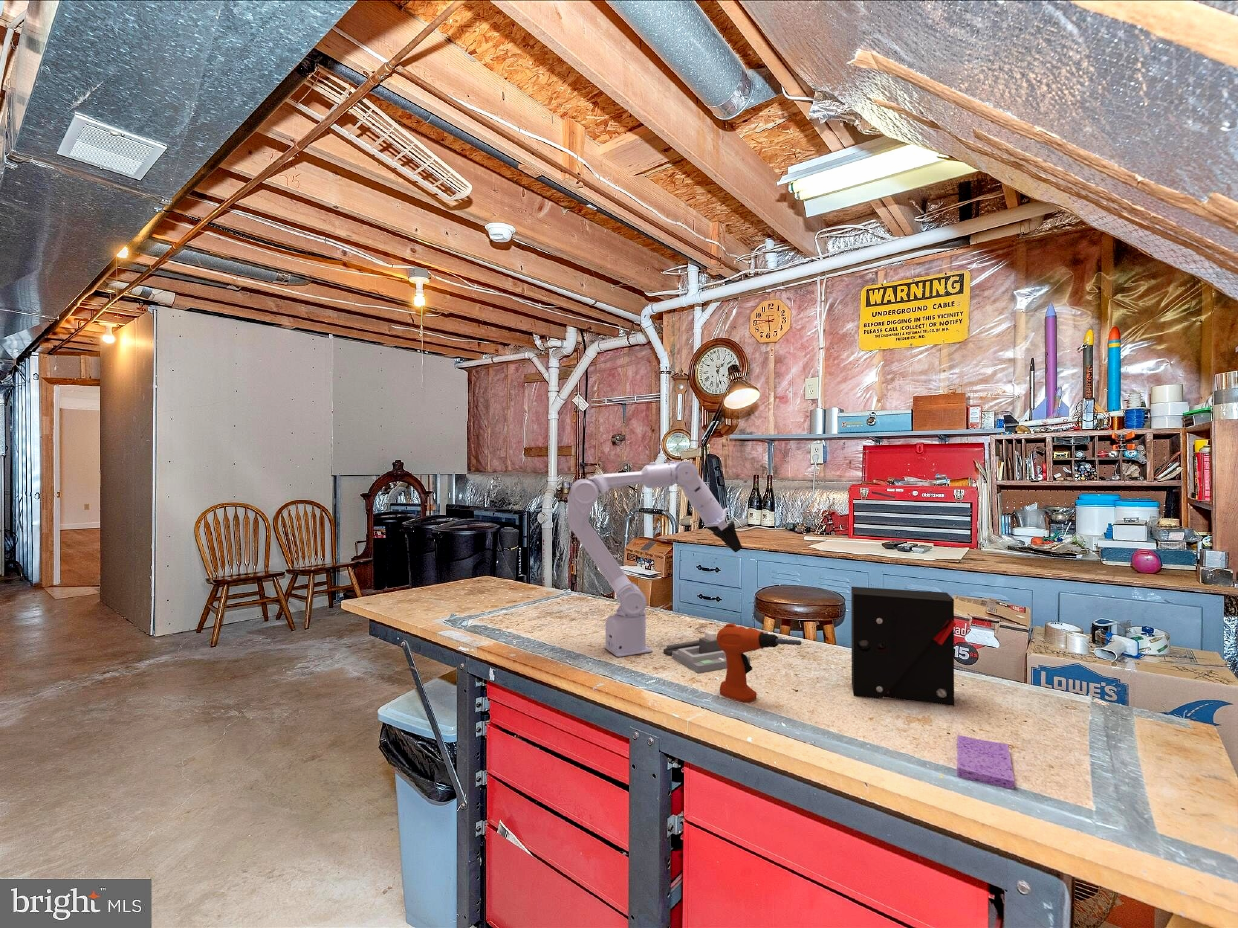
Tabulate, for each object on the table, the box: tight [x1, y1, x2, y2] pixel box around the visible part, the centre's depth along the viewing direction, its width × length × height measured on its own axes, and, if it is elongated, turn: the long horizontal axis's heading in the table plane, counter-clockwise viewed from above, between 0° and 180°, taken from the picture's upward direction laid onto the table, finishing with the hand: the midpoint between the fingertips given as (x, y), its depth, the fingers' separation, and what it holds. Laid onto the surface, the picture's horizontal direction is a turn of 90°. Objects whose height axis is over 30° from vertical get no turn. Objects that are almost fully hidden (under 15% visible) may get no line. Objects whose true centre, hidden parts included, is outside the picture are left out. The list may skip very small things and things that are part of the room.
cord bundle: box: [663, 639, 699, 656], centre depth 140 cm, size 14×3×2 cm, turn 116°
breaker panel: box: [671, 646, 751, 674], centre depth 133 cm, size 14×11×3 cm
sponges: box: [956, 734, 1016, 790], centre depth 87 cm, size 7×13×2 cm, turn 150°
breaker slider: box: [698, 630, 722, 654], centre depth 133 cm, size 4×3×5 cm
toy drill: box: [716, 622, 803, 703], centre depth 110 cm, size 5×18×14 cm, turn 50°
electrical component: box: [850, 586, 957, 707], centre depth 114 cm, size 18×10×20 cm, turn 71°
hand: (735, 546), depth 144 cm, fingers open, 7 cm apart
